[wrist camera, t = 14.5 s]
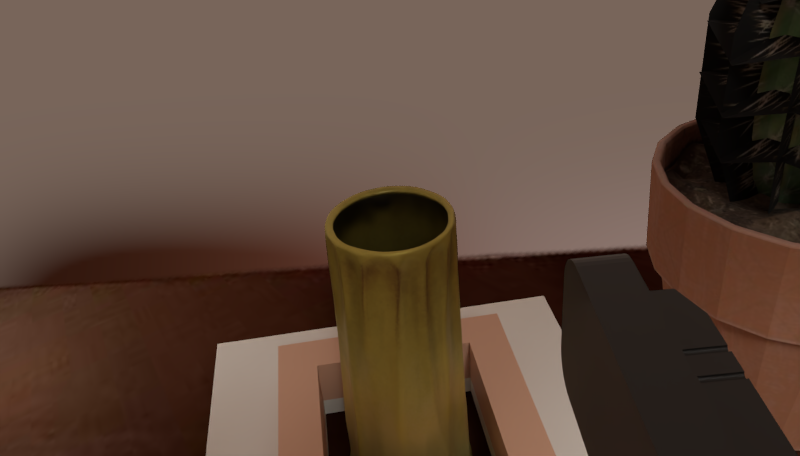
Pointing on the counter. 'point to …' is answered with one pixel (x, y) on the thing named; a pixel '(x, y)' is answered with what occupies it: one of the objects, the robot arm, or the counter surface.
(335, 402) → the socket stand
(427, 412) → the vase
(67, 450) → the counter surface
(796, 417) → the potted plant
